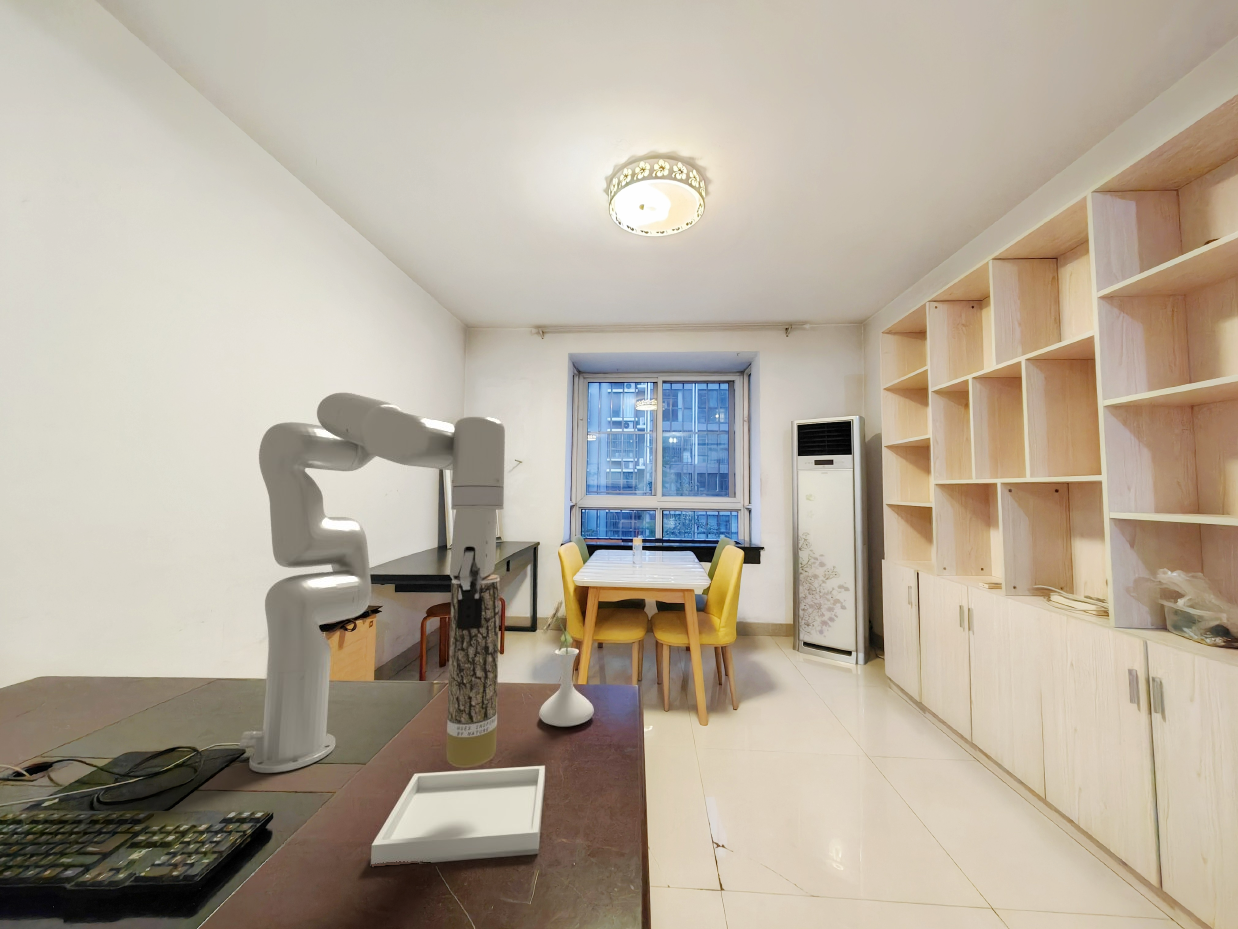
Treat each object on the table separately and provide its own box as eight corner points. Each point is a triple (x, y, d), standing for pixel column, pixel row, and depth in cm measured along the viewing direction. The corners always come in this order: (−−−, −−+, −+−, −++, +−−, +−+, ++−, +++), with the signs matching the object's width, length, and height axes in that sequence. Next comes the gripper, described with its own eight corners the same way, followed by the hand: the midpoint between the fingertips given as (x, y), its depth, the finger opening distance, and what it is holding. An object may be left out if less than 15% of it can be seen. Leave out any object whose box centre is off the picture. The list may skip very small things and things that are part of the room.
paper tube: (506, 751, 68) (509, 575, 71) (473, 774, 62) (478, 581, 65) (469, 742, 71) (474, 573, 74) (435, 763, 65) (441, 579, 68)
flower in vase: (553, 706, 105) (554, 591, 107) (601, 712, 101) (601, 593, 104) (524, 732, 92) (526, 601, 95) (578, 740, 89) (578, 604, 92)
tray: (370, 867, 57) (371, 845, 57) (413, 791, 73) (414, 773, 73) (538, 853, 59) (538, 832, 59) (544, 782, 75) (544, 765, 75)
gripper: (464, 502, 79) (461, 611, 77) (435, 497, 62) (430, 638, 60) (510, 501, 80) (508, 610, 78) (494, 497, 62) (491, 636, 60)
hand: (474, 621), depth 69 cm, fingers closed on paper tube, 6 cm apart
